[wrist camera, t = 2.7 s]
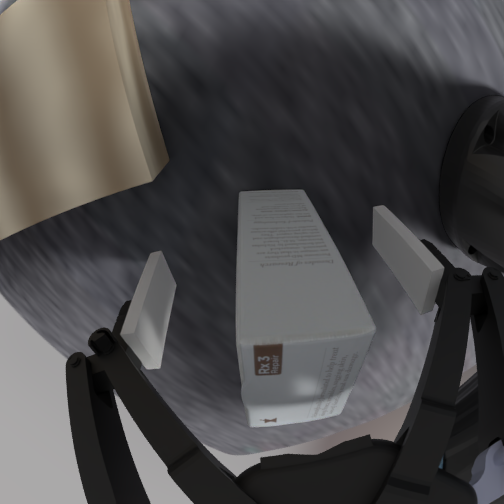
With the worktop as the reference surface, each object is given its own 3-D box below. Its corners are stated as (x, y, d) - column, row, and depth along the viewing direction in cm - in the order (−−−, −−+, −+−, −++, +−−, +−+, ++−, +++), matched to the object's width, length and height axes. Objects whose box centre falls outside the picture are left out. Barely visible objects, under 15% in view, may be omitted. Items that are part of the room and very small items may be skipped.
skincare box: (300, 263, 21) (347, 418, 10) (239, 268, 21) (246, 431, 10) (304, 183, 17) (392, 329, 7) (232, 186, 17) (232, 349, 7)
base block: (123, -31, 8) (98, -52, 5) (169, 160, 16) (152, 181, 13) (-34, 83, 9) (-66, 92, 6) (8, 224, 17) (-19, 249, 14)
